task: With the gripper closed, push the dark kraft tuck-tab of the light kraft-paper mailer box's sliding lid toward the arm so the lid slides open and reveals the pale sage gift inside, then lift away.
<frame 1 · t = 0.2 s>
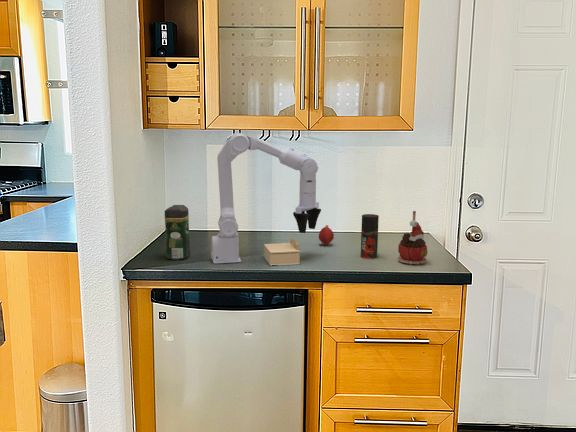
hand: (307, 230, 195), 10 cm above the worktop, fingers open, 7 cm apart
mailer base: (281, 260, 193), on the worktop
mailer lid: (281, 245, 192), point 6 cm above the worktop, slide at 0.0 cm
onion: (326, 245, 216), on the worktop
deodorant: (368, 257, 199), on the worktop
coffee jar: (178, 257, 196), on the worktop
cake: (411, 262, 192), on the worktop
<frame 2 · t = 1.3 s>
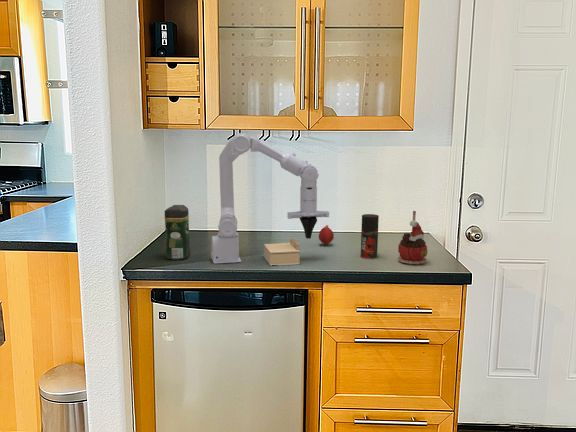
hand: (308, 238, 193), 8 cm above the worktop, fingers closed
nothing on the worktop moved.
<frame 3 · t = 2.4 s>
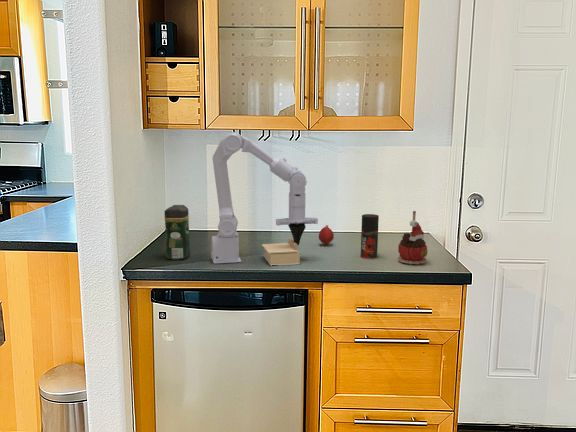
hand: (296, 244, 193), 5 cm above the worktop, fingers closed
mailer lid: (279, 245, 191), point 6 cm above the worktop, slide at 0.7 cm, touching gripper
everything else where it was.
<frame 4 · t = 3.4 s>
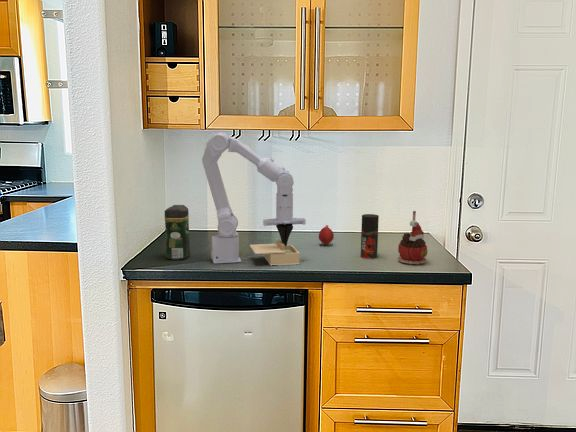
hand: (284, 245, 192), 5 cm above the worktop, fingers closed
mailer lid: (267, 245, 190), point 6 cm above the worktop, slide at 5.1 cm, touching gripper
everything else where it was.
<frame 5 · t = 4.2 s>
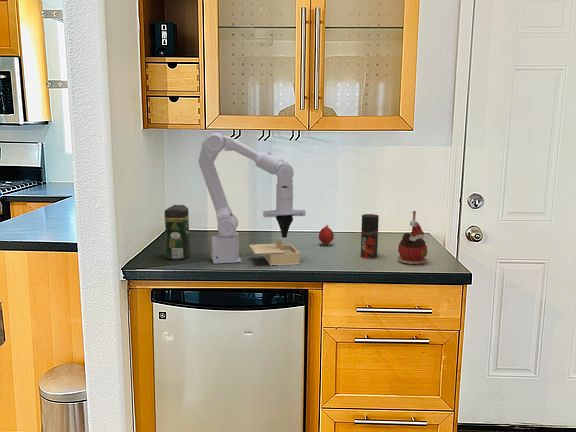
hand: (284, 237, 191), 8 cm above the worktop, fingers closed
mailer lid: (266, 245, 190), point 6 cm above the worktop, slide at 5.2 cm
everything else where it was.
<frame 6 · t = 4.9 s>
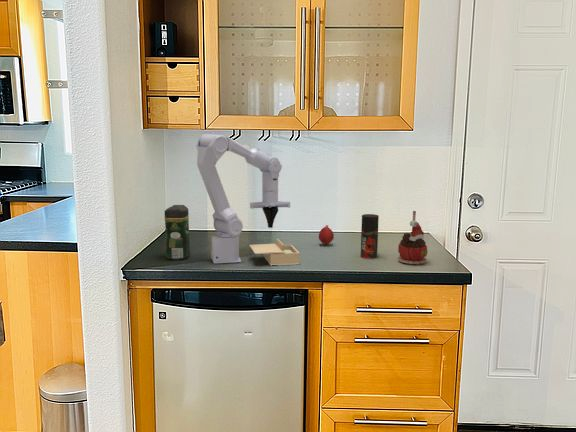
hand: (270, 227, 202), 9 cm above the worktop, fingers closed
nothing on the worktop moved.
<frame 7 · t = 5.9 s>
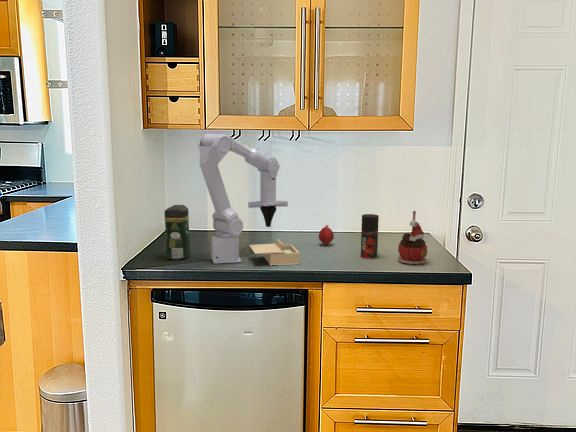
hand: (268, 226, 204), 9 cm above the worktop, fingers closed
nothing on the worktop moved.
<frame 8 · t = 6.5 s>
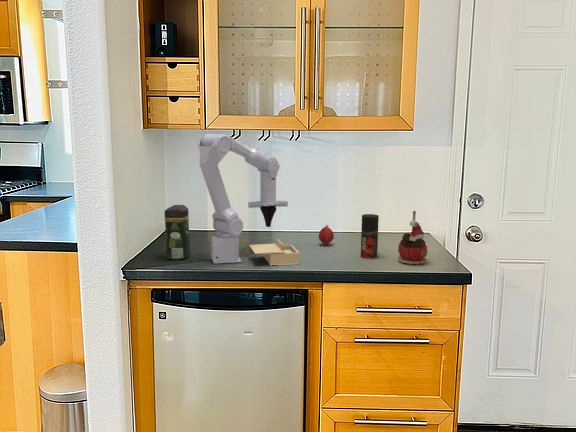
hand: (268, 226, 204), 9 cm above the worktop, fingers closed
nothing on the worktop moved.
at the end: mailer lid slide at 5.2 cm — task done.
